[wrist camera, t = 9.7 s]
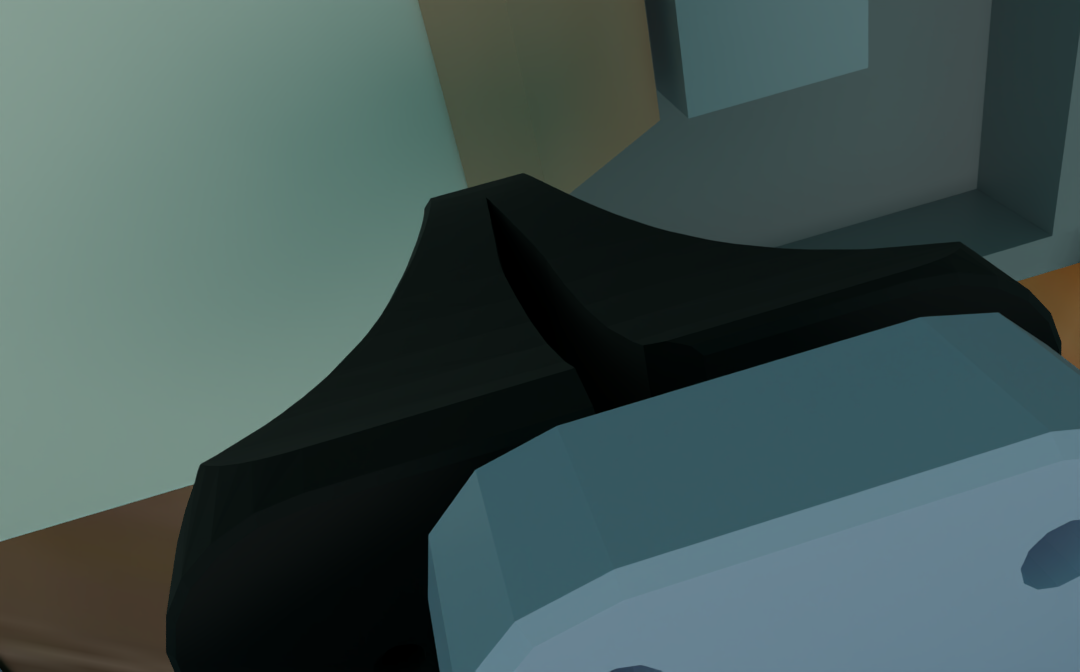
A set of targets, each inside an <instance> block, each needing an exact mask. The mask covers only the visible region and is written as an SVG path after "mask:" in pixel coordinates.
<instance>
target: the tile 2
mask: <svg viewBox="0 0 1080 672" xmlns="http://www.w3.org/2000/svg"><path fill="white" fill-rule="evenodd" d="M645 3H646V10H647V18H648V25H649V33H650V40H651V48H652V56H653V63H654V71H655V78H656V86H657V90H658V91H659V92H660V93H661V94H662V95H663V96H664V97H665V98H666V99H667V100H669V101H670V102H671V103H672V104H673V105H674V106H675V107H676V108H677V109H679V110H680V111H681V112H682V113H683V114H684V115H685V116H686V117H687V118H692V117H696V116H699V115H703V114H706V113H710V112H713V111H717V110H720V109H724V108H727V107H731V106H735V105H738V104H742V103H745V102H749V101H752V100H756V99H759V98H763V97H766V96H770V95H773V94H777V93H780V92H784V91H788V90H791V89H795V88H798V87H802V86H805V85H809V84H812V83H816V82H819V81H823V80H826V79H830V78H833V77H837V76H840V75H844V74H848V73H851V72H855V71H858V70H862V69H865V68H868V0H645Z"/></svg>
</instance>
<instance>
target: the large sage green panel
mask: <svg viewBox="0 0 1080 672" xmlns="http://www.w3.org/2000/svg"><path fill="white" fill-rule="evenodd" d="M466 188H468V186H467V182H466V179H465V175H464V171H463V167H462V164H461V160H460V156H459V152H458V149H457V145H456V141H455V137H454V134H453V130H452V126H451V122H450V119H449V115H448V111H447V107H446V104H445V100H444V96H443V92H442V89H441V85H440V81H439V77H438V74H437V70H436V66H435V62H434V59H433V55H432V51H431V47H430V44H429V40H428V36H427V32H426V29H425V25H424V21H423V17H422V14H421V10H420V6H419V3H418V0H0V541H4V540H7V539H10V538H14V537H17V536H20V535H24V534H27V533H31V532H34V531H37V530H41V529H44V528H47V527H51V526H54V525H58V524H61V523H64V522H68V521H71V520H74V519H78V518H81V517H85V516H88V515H91V514H95V513H98V512H101V511H105V510H108V509H112V508H115V507H118V506H122V505H125V504H129V503H132V502H135V501H139V500H142V499H145V498H149V497H152V496H156V495H159V494H162V493H166V492H169V491H172V490H176V489H179V488H183V487H186V486H189V485H193V484H194V483H195V479H196V475H197V471H198V468H199V466H200V464H201V463H203V462H205V461H207V460H209V459H210V458H212V457H214V456H216V455H217V454H219V453H221V452H222V451H224V450H225V449H227V448H229V447H230V446H232V445H234V444H235V443H237V442H238V441H240V440H242V439H243V438H245V437H247V436H248V435H250V434H251V433H253V432H255V431H256V430H258V429H259V428H261V427H263V426H264V425H266V424H267V423H269V422H270V421H272V420H273V419H274V418H276V417H277V416H279V415H280V414H281V413H283V412H284V411H285V410H287V409H288V408H289V407H291V406H292V405H293V404H294V403H296V402H297V401H298V400H300V399H301V398H302V397H304V396H305V395H306V394H307V393H308V392H310V391H311V390H312V389H313V388H314V387H315V386H317V385H318V384H319V383H320V382H321V381H322V380H324V379H325V378H326V377H327V376H328V375H329V374H330V373H331V372H332V371H333V370H334V369H335V368H336V367H337V366H338V365H339V364H340V362H341V361H342V360H343V359H344V358H345V357H346V356H347V355H348V354H349V353H350V352H351V351H352V350H353V349H354V348H355V347H356V346H357V345H358V344H359V343H360V342H361V341H362V339H363V338H364V337H365V336H366V335H367V333H368V332H369V331H370V329H371V328H372V327H373V325H374V324H375V323H376V321H377V320H378V319H379V317H380V316H381V314H382V313H383V311H384V309H385V308H386V306H387V304H388V303H389V301H390V299H391V297H392V295H393V293H394V291H395V289H396V287H397V285H398V283H399V282H400V280H401V278H402V276H403V274H404V272H405V269H406V267H407V265H408V262H409V260H410V257H411V255H412V252H413V250H414V247H415V244H416V242H417V239H418V236H419V232H420V229H421V226H422V222H423V217H424V208H425V206H426V205H427V203H428V202H429V200H430V198H433V197H437V196H440V195H444V194H448V193H451V192H455V191H459V190H462V189H466Z"/></svg>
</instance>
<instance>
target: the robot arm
mask: <svg viewBox="0 0 1080 672" xmlns="http://www.w3.org/2000/svg"><path fill="white" fill-rule="evenodd" d="M166 653H167V655H168V658H169V660H170V662H171V665H172V667H173V669H174V672H1080V370H1079V369H1078V368H1076V367H1075V366H1074V365H1072V364H1071V363H1070V362H1069V361H1067V360H1066V359H1065V358H1063V357H1062V356H1061V340H1060V337H1059V335H1058V332H1057V329H1056V326H1055V324H1054V321H1053V318H1052V315H1051V313H1050V312H1049V311H1048V310H1047V309H1046V307H1045V306H1044V305H1043V304H1042V303H1041V302H1040V301H1039V300H1038V299H1037V298H1036V297H1035V296H1034V295H1033V294H1032V293H1031V292H1030V290H1028V289H1027V288H1026V287H1024V286H1023V285H1021V284H1020V283H1018V282H1017V281H1016V280H1014V279H1013V278H1011V277H1010V276H1009V275H1007V274H1006V273H1004V272H1003V271H1002V270H1000V269H999V268H997V267H996V266H994V265H993V264H992V263H990V262H989V261H987V260H986V259H985V258H983V257H982V256H980V255H979V254H978V253H976V252H975V251H973V250H972V249H970V248H969V247H967V246H966V245H964V244H963V243H961V242H959V241H958V242H946V243H934V244H923V245H911V246H899V247H887V248H875V249H788V248H772V247H762V246H753V245H743V244H733V243H727V242H720V241H714V240H708V239H703V238H699V237H694V236H689V235H685V234H680V233H676V232H671V231H667V230H663V229H660V228H656V227H653V226H649V225H646V224H643V223H640V222H637V221H634V220H631V219H628V218H626V217H623V216H620V215H617V214H614V213H612V212H609V211H607V210H604V209H602V208H599V207H597V206H594V205H592V204H590V203H587V202H585V201H583V200H581V199H578V198H576V197H574V196H572V195H570V194H567V193H565V192H563V191H561V190H559V189H557V188H555V187H553V186H551V185H549V184H547V183H545V182H543V181H541V180H539V179H536V178H534V177H532V176H530V175H528V174H525V173H521V174H517V175H513V176H510V177H506V178H502V179H499V180H495V181H491V182H488V183H484V184H480V185H477V186H473V187H470V188H466V189H462V190H459V191H455V192H451V193H448V194H444V195H440V196H437V197H433V198H430V200H429V202H428V203H427V205H426V206H425V208H424V217H423V222H422V226H421V229H420V232H419V236H418V239H417V242H416V244H415V247H414V250H413V252H412V255H411V257H410V260H409V262H408V265H407V267H406V269H405V272H404V274H403V276H402V278H401V280H400V282H399V283H398V285H397V287H396V289H395V291H394V293H393V295H392V297H391V299H390V301H389V303H388V304H387V306H386V308H385V309H384V311H383V313H382V314H381V316H380V317H379V319H378V320H377V321H376V323H375V324H374V325H373V327H372V328H371V329H370V331H369V332H368V333H367V335H366V336H365V337H364V338H363V339H362V341H361V342H360V343H359V344H358V345H357V346H356V347H355V348H354V349H353V350H352V351H351V352H350V353H349V354H348V355H347V356H346V357H345V358H344V359H343V360H342V361H341V362H340V364H339V365H338V366H337V367H336V368H335V369H334V370H333V371H332V372H331V373H330V374H329V375H328V376H327V377H326V378H325V379H324V380H322V381H321V382H320V383H319V384H318V385H317V386H315V387H314V388H313V389H312V390H311V391H310V392H308V393H307V394H306V395H305V396H304V397H302V398H301V399H300V400H298V401H297V402H296V403H294V404H293V405H292V406H291V407H289V408H288V409H287V410H285V411H284V412H283V413H281V414H280V415H279V416H277V417H276V418H274V419H273V420H272V421H270V422H269V423H267V424H266V425H264V426H263V427H261V428H259V429H258V430H256V431H255V432H253V433H251V434H250V435H248V436H247V437H245V438H243V439H242V440H240V441H238V442H237V443H235V444H234V445H232V446H230V447H229V448H227V449H225V450H224V451H222V452H221V453H219V454H217V455H216V456H214V457H212V458H210V459H209V460H207V461H205V462H203V463H201V464H200V466H199V468H198V471H197V475H196V479H195V483H194V486H193V489H192V492H191V495H190V498H189V501H188V504H187V507H186V510H185V514H184V518H183V522H182V526H181V530H180V534H179V538H178V542H177V547H176V554H175V561H174V568H173V574H172V581H171V588H170V594H169V601H168V608H167V614H166ZM0 672H3V671H2V670H1V669H0Z"/></svg>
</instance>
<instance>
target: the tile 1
mask: <svg viewBox="0 0 1080 672" xmlns="http://www.w3.org/2000/svg"><path fill="white" fill-rule="evenodd" d="M418 3H419V6H420V10H421V14H422V17H423V21H424V25H425V29H426V32H427V36H428V40H429V44H430V47H431V51H432V55H433V59H434V62H435V66H436V70H437V74H438V77H439V81H440V85H441V89H442V92H443V96H444V100H445V104H446V107H447V111H448V115H449V119H450V122H451V126H452V130H453V134H454V137H455V141H456V145H457V149H458V152H459V156H460V160H461V164H462V167H463V171H464V175H465V179H466V182H467V186H468V188H470V187H473V186H477V185H480V184H484V183H488V182H491V181H495V180H499V179H502V178H506V177H510V176H513V175H517V174H521V173H525V174H528V175H530V176H532V177H534V178H536V179H539V180H541V181H543V182H545V183H547V184H549V185H551V186H553V187H555V188H557V189H559V190H561V191H563V192H565V193H567V194H570V193H571V192H572V191H574V190H575V189H576V188H577V187H578V186H580V185H581V184H582V183H583V182H585V181H586V180H587V179H588V178H590V177H591V176H592V175H593V174H594V173H596V172H597V171H598V170H599V169H601V168H602V167H603V166H604V165H606V164H607V163H608V162H609V161H611V160H612V159H613V158H614V157H615V156H617V155H618V154H619V153H620V152H622V151H623V150H624V149H625V148H627V147H628V146H629V145H630V144H631V143H633V142H634V141H635V140H636V139H638V138H639V137H640V136H641V135H643V134H644V133H645V132H646V131H647V130H649V129H650V128H651V127H652V126H654V125H655V124H656V123H657V122H659V121H660V116H659V108H658V101H657V93H656V85H655V78H654V70H653V63H652V55H651V48H650V40H649V32H648V25H647V17H646V10H645V2H644V0H418Z"/></svg>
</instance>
